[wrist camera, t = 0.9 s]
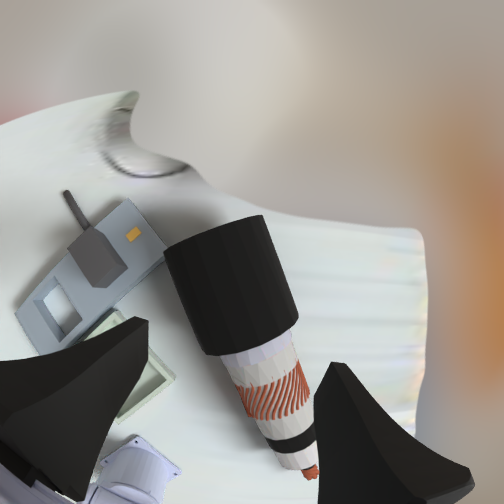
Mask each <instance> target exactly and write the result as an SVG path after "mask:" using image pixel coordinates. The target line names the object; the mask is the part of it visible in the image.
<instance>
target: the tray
mask: <svg viewBox="0 0 504 504" xmlns="http://www.w3.org/2000/svg"><path fill="white" fill-rule="evenodd" d="M124 321H126V319H125V317H124V316H123V315H122V313H121V312H120V311H115V312H113V313H112V314H111V315H110V316H109V317H108V318H107V319H106V320H105V321H104V322H103V323H102V324H101V325H99V326H98V327H97V328H96V329H95V330H94V331H93V332H92V333H91V334H90V335H89V336H88V337H87V338H86V339H85V340H88V339H90V338H92V337H95V336H97V335H99V334H101V333H103V332H105V331H107V330H109V329H111V328H113V327H115V326H116V325H118V324H120V323H122V322H124ZM85 340H84V341H85ZM175 378H176V376H175V375H174V374H173V372H172V371H171V370H170V369H169V368H168V367H167V366H166V365H165V364H164V363H163V362H162V361H161V360H160V359H159V357H158V356H157V355H156V354H155V353H154V352H153V351H152V350H151V349H150V347H149V346H148V361H147V364H146V366H145V368H144V370H143V372H142V375H141V378H140V380H139V381H138V382H137V384H136V385H135V387H134V389H133V390H132V392H131V393H130V395H129V397H128V398H127V400H126V401H125V403H124V405H123V406H122V408H121V409H120V411H119V413H118V414H117V416H116V417H115V419H114V421H115V422H116V423H117V424H118V425H119V424H120V423H121V422H123V421H124V420H125V419H127V418H128V417H129V416H131V415H132V414H133V413H135V412H136V411H137V410H139V409H140V408H141V407H142V406H144V405H145V404H146V403H148V402H149V401H150V400H151V399H153V398H154V397H155V396H156V395H158V394H159V393H160V392H161V391H163V390H164V389H165V388H166V387H168V386H169V385H170V384H171V383H173V382H174V381H175Z"/></svg>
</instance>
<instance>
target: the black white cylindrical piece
mask: <svg viewBox="0 0 504 504" xmlns="http://www.w3.org/2000/svg"><path fill="white" fill-rule="evenodd" d="M163 254H164V257H165V260H166V263H167V265H168V268H169V271H170V273H171V276H172V279H173V281H174V284H175V287H176V289H177V292H178V294H179V297H180V299H181V302H182V304H183V307H184V309H185V312H186V314H187V316H188V319H189V321H190V323H191V326H192V328H193V330H194V333H195V335H196V337H197V340H198V342H199V344H200V346H201V349H202V350H203V351H204V353H205V354H206V355H213V356H220V358H221V360H222V362H223V364H224V365H225V366H226V368H227V370H228V372H229V374H230V376H231V379H232V381H233V382H234V383H235V386H236V388H237V390H238V391H239V394H240V396H241V399H242V402H243V405H244V407H245V410H246V412H247V414H248V417H252V418H254V420H255V421H256V423H257V425H258V427H259V429H260V431H261V433H262V434H263V435H264V436H265V438H266V440H267V442H268V444H269V446H270V447H271V448H272V449H273V451H274V452H275V454H276V456H277V458H278V460H279V461H280V463H281V465H282V466H283V467H285V468H287V469H289V470H301V471H302V473H303V475H304V477H305V478H306V479H307V480H311V479H312V478H313V479H316V478H317V477H318V476H317V475H319V470H318V469H317V466H316V463H317V462H318V461H319V460H318V451H317V443H316V435H315V426H314V418H313V406H312V403H311V400H310V397H309V394H310V392H309V391H310V390H309V388H308V385H307V382H306V379H305V377H304V374H303V371H302V368H301V366H300V363H299V360H298V357H297V354H296V351H295V348H294V345H293V342H292V334H291V332H290V329H289V328H291V327H292V326H293V325H294V324H295V323H296V321H297V320H298V318H299V317H298V311H297V308H296V305H295V303H294V300H293V297H292V294H291V291H290V289H289V286H288V283H287V280H286V278H285V275H284V272H283V269H282V267H281V264H280V261H279V258H278V256H277V253H276V250H275V247H274V245H273V242H272V239H271V237H270V234H269V231H268V229H267V226H266V223H265V221H264V218H263V215H256V216H251V217H247V218H243V219H240V220H237V221H233V222H230V223H227V224H224V225H221V226H218V227H216V228H213V229H210V230H208V231H205V232H202V233H200V234H197V235H195V236H192V237H190V238H188V239H186V240H183V241H181V242H179V243H177V244H175V245H173V246H171V247H169V248H167V249H166V250H165V251H163Z"/></svg>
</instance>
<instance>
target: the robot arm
mask: <svg viewBox="0 0 504 504" xmlns="http://www.w3.org/2000/svg"><path fill="white" fill-rule="evenodd" d="M148 323H149V321H148V320H145V319H142V318H139V317H136V316H134V317H132V318H130V319H128V320H126V321H124V322H122V323H120V324H118V325H116V326H115V327H113V328H111V329H109V330H107V331H105V332H103V333H101V334H99V335H97V336H95V337H92V338H90V339H88V340H85V341H83V342H81V343H78V344H76V345H74V346H71V347H68V348H66V349H63V350H60V351H56V352H53V353H50V354H46V355H41V356H36V357H31V358H26V359H19V360H9V361H0V504H74V503H72V502H70V501H69V500H67V499H65V498H64V497H62V496H60V495H59V494H57V493H56V492H55V491H57V492H58V493H60V494H61V495H63V496H64V495H65V496H67V497H69V498H70V499H72V500H74V501H76V502H77V503H76V504H163V499H164V493H165V488H166V483H167V482H169V481H171V480H172V479H174V478H176V477H177V476H179V475H181V474H182V471H181V470H180V469H179V468H178V467H176V466H175V465H174V464H172V463H171V462H170V461H168V460H167V459H166V458H165V457H163V456H162V455H161V454H160V453H158V452H157V451H156V450H155V449H154V448H153V447H151V446H150V445H149V444H148V443H147V442H146V441H144V440H143V439H142V438H141V437H139V436H137V437H135V438H134V439H132V440H131V441H129V442H128V443H126V444H125V445H123V446H122V447H121V448H119V449H118V450H116V451H115V452H113V453H112V454H110V455H109V456H107V457H105V458H104V459H102V460H101V461H100V465H101V466H102V467H104V469H103V470H102V472H101V474H100V476H99V477H98V479H97V481H96V483H95V482H93V483H90V479H91V476H92V473H93V470H94V467H95V464H96V461H97V458H98V455H99V453H100V450H101V448H102V445H103V443H104V440H105V438H106V436H107V434H108V431H109V429H110V427H111V425H112V423H113V421H114V419H115V417H116V416H117V414H118V413H119V411H120V409H121V408H122V406H123V405H124V403H125V401H126V400H127V398H128V397H129V395H130V393H131V392H132V390H133V389H134V387H135V385H136V384H137V382H138V381H139V379H140V377H141V375H142V372H143V370H144V368H145V366H146V364H147V361H148ZM313 418H314V426H315V435H316V443H317V451H318V460H319V492H318V504H454V503H456V502H457V501H458V500H460V499H461V498H463V497H464V496H466V495H467V494H468V493H469V492H470V491H472V489H473V488H474V486H475V483H474V480H473V477H472V475H471V472H470V470H469V468H467V467H465V466H462V465H460V464H458V463H455V462H453V461H451V460H449V459H447V458H444V457H443V456H441V455H439V454H437V453H436V452H434V451H432V450H431V449H429V448H427V447H426V446H425V445H423V444H422V443H420V442H419V441H417V440H416V439H415V438H414V437H412V436H411V435H410V434H409V433H407V432H406V431H405V430H404V429H403V428H402V427H401V426H399V425H398V424H397V423H396V422H395V421H394V420H393V419H392V418H391V417H390V416H389V415H388V414H387V413H386V412H385V411H384V410H383V408H382V407H381V406H380V405H379V404H378V403H377V402H376V401H375V399H374V398H373V397H372V396H371V395H370V393H369V392H368V391H367V390H366V388H365V387H364V386H363V385H362V383H361V382H360V381H359V380H358V378H357V377H356V376H355V374H354V373H353V372H352V371H351V369H350V368H349V367H348V366H347V365H346V364H345V363H338V362H331V363H330V365H329V367H328V369H327V371H326V373H325V375H324V377H323V379H322V381H321V383H320V385H319V387H318V389H317V391H316V393H315V395H314V407H313ZM135 441H137V442H135ZM107 461H108V462H107ZM175 473H177V474H175Z"/></svg>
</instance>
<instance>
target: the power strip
mask: <svg viewBox="0 0 504 504" xmlns="http://www.w3.org/2000/svg"><path fill="white" fill-rule="evenodd" d="M63 196H64V197H65V199H66V201H67V203H68V204H69V206H70V208H71V210H72V211H73V213H74V215H75V216H76V218H77V220H78V221H79V223H80V224H81V226H82V228H83V229H84V232H83V233H82V234H81V235H80V236H79V237H78V238H77V239H76V240H75V241H74V242H73V243H72V244H71V245H70V246H69V247H68V248H67V249H68V250H69V252H68V253H67V254H66V255H65V256H64V258H63V259H62V260H61V261H60V262H59V263H58V264H57V265H56V266H55V267H54V268H53V269H52V270H51V271H50V272H49V274H48V275H47V276H46V277H45V278H44V279H43V280H42V281H41V282H40V284H39V285H38V286H37V287H36V288H35V289H34V291H33V292H32V293H31V294H30V295H29V297H28V298H27V299H26V300H25V301H24V303H23V304H22V305H21V306H20V308H19V309H18V310H17V311H16V313H15V315H16V317H17V319H18V321H19V323H20V324H21V326H22V328H23V330H24V331H25V333H26V335H27V336H28V338H29V340H30V341H31V343H32V345H33V346H34V348H35V349H36V351H37V352H38V354H39V355H40V356H41V355H46V354H50V353H53V352H56V351H60V350H63V349H66V348H68V347H71V346H72V345H73V344H74V343H75V342H76V341H77V340H78V339H79V338H80V337H81V336H82V335H83V334H84V333H85V332H86V331H87V330H88V329H90V328H91V327H92V326H93V325H94V324H95V323H96V322H97V321H98V320H99V319H100V318H101V317H102V316H103V315H104V314H105V313H106V312H107V311H108V310H110V309H111V308H112V307H113V306H114V305H115V304H116V303H117V302H118V301H119V300H120V299H121V298H122V297H124V296H125V295H126V294H127V293H128V292H129V291H130V290H131V289H132V288H133V287H135V286H136V285H137V284H138V283H139V282H140V281H141V280H142V279H144V278H145V277H146V276H147V275H148V274H149V273H150V272H151V271H153V270H154V269H155V268H156V267H157V266H158V265H159V264H161V263H162V262H163V261H164V260H165V257H164V254H163V251H165V250H166V249H167V246H166V245H165V244H164V243H163V241H162V240H161V239H160V238H159V236H158V235H157V234H156V233H155V231H154V230H153V229H152V228H151V226H150V225H149V224H148V222H147V221H146V220H145V219H144V217H143V216H142V215H141V213H140V212H139V211H138V209H137V208H136V207H135V205H134V204H133V203H132V202H131V200H130V199H129V198H127V199H126V200H125V201H123V202H122V203H121V204H120V205H119V206H117V207H116V208H115V209H114V210H113V211H112V212H111V213H109V214H108V215H107V216H106V217H105V218H104V219H103V220H102V221H101V222H99V223H98V224H97V225H96V226H95V227H92V226H90V224H89V223H88V221H87V220H86V218H85V216H84V215H83V213H82V212H81V210H80V208H79V207H78V205H77V203H76V202H75V200H74V198H73V197H72V195H71V193H70V192H69V190H66V191H65V192H64V193H63ZM58 283H59V284H60V285H61V287H62V289H63V290H64V292H65V293H66V295H67V296H68V298H69V300H70V301H71V303H72V304H73V306H74V307H75V309H76V310H77V312H78V313H79V314H80V316H81V317H82V319H83V320H82V321H81V322H80V323H79V324H78V325H77V326H76V327H75V328H74V329H73V330H72V331H71V332H70V333H69V334H68V335H67V336H65V335H64V333H63V332H62V330H61V329H60V327H59V326H58V324H57V323H56V321H55V320H54V318H53V316H52V315H51V313H50V312H49V310H48V308H47V307H46V305H45V303H44V302H43V299H44V298H45V297H46V296H47V295H48V294H49V292H50V291H51V290H52V289H53V288H54V287H55V286H56V285H57V284H58Z"/></svg>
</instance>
